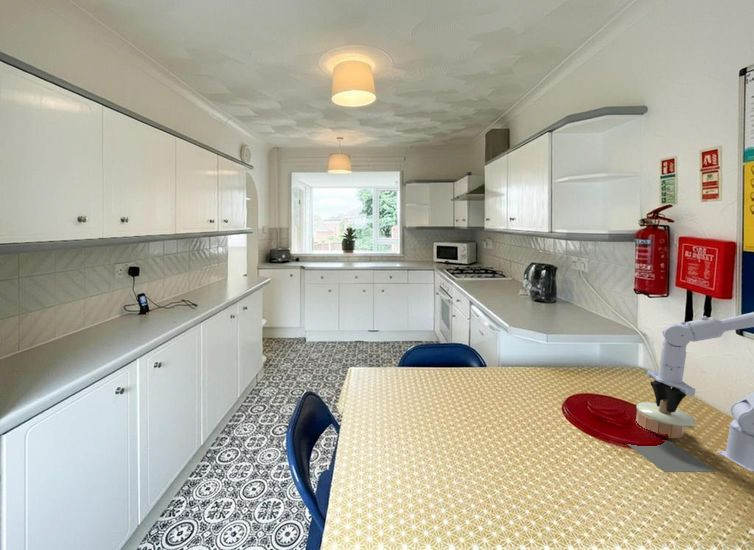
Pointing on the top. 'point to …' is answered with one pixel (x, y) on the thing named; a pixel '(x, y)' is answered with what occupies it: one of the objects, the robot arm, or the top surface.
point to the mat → (672, 458)
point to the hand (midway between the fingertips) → (665, 409)
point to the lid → (665, 414)
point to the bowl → (660, 426)
